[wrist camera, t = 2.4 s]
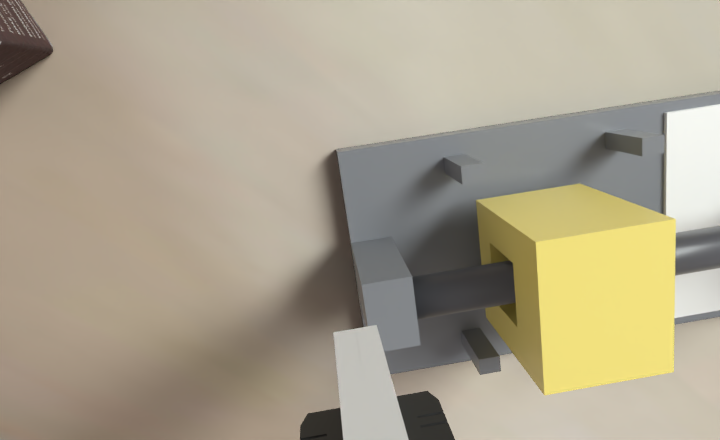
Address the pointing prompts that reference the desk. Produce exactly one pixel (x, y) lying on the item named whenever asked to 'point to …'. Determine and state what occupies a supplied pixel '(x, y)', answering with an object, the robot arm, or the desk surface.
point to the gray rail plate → (511, 176)
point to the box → (19, 39)
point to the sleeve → (582, 285)
